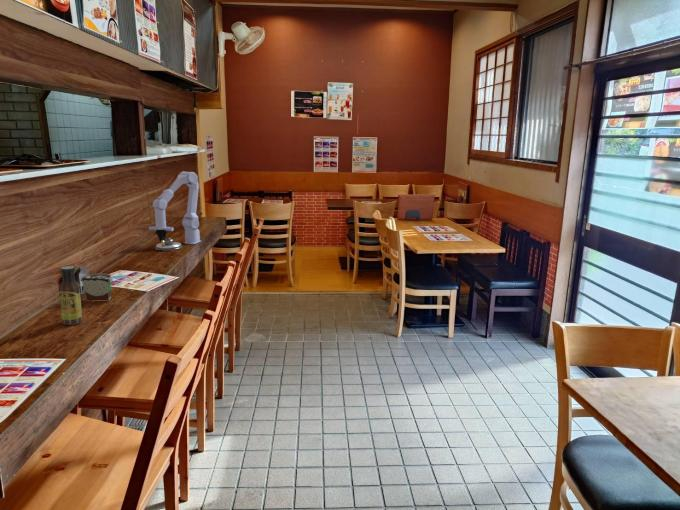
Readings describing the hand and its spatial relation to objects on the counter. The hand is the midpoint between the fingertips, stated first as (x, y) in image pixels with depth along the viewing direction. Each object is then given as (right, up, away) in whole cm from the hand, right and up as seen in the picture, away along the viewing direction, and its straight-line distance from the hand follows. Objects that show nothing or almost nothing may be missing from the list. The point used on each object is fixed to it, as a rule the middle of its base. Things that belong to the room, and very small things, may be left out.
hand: (162, 242), depth 283 cm
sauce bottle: (+13, -31, -117) cm, 122 cm away
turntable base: (+4, -4, 0) cm, 5 cm away
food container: (+10, -25, -92) cm, 96 cm away
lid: (+4, -1, -1) cm, 4 cm away
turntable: (+4, -2, 0) cm, 5 cm away
